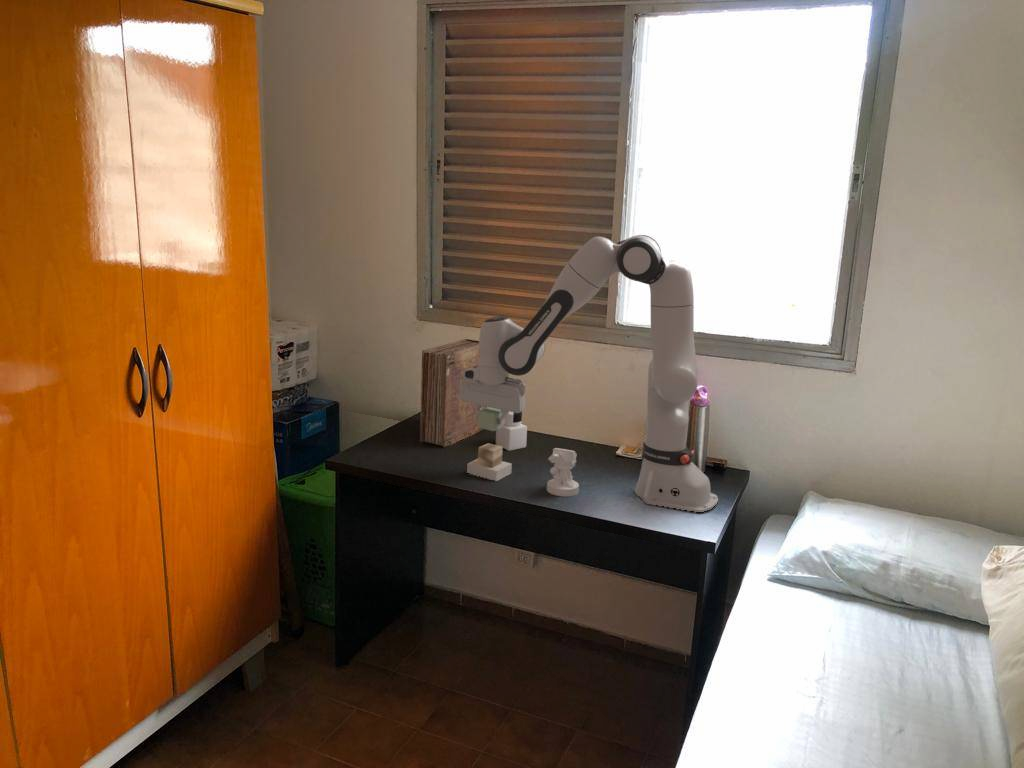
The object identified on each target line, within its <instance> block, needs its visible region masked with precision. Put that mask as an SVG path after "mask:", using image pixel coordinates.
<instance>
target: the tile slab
mask: <svg viewBox="0 0 1024 768" xmlns="http://www.w3.org/2000/svg"><path fill="white" fill-rule="evenodd" d="M466 465H467V466H466V474H467V473H470V474H469V475H471V474H473V475H472V476H475V475H476V476H475V477H479V476H480V477H479V478H482V477H483V478H484V479H486V478H487V479H486V480H491V481H493V480H494V482H498V481H499V480H501V479H504V478H505V477H507V476H509V475H512V469H513V466H512V465H513V464H512V463H510V462H507V461H503V460H502V463H501V464H499V465H497V466H495V467H493V468H491V467H487V466H484V465H480V464H478V458H476V459H474V460H472V461H469V462H468V463H466ZM483 478H482V479H483Z"/></svg>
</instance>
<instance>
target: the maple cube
mask: <svg viewBox="0 0 1024 768" xmlns="http://www.w3.org/2000/svg"><path fill="white" fill-rule="evenodd" d="M503 449H504V448H503V447H502V446H498V445H496V444H493V443H489V442H488V443H486V444H483V445H481V446H479V447H478V449H477V450H478V452H477V459H478V464H480V465H484V466H487V467H491V468H493V467H495V466H497V465H499V464H501V463H502V461H503V452H504V451H503Z"/></svg>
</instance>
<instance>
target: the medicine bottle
mask: <svg viewBox="0 0 1024 768" xmlns="http://www.w3.org/2000/svg"><path fill="white" fill-rule="evenodd" d="M522 417H523V411H522V412H520V413H514V412H509V413H508V414H507V416H506V417H505V423H504V424H503V427H502V428H500V429H497V430H495V445H498V446H502V447H503V449H505V450H506V451H508V452H510V451H514V450H518V449H523V448H524V449H525V448H526V447H527V439H528V437H527V436H528V435H527V434H528V426H527V425H525V424H522V420H523V418H522Z"/></svg>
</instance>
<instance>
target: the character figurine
mask: <svg viewBox="0 0 1024 768" xmlns="http://www.w3.org/2000/svg"><path fill="white" fill-rule="evenodd" d="M577 456H578V455H577V453H576V451H575V450H571V449H566V448H559V447H555V448H552V454H551V455H550V456H549V457H548V459H547V460H548V461H550V463H551V464H554V465H553V467H551V468H550V469H549V473H550V475H552V479H549V480H547V483H546V491H547V493H549V494H551V495H554V496H557V497H574V496H576V495H578V494H579V491H580V484H579V483H578V482H577V481H576V480H573V477H574V476H573V475H572V472H571V470H572V469H573V468H575V467H576V463H577Z"/></svg>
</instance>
